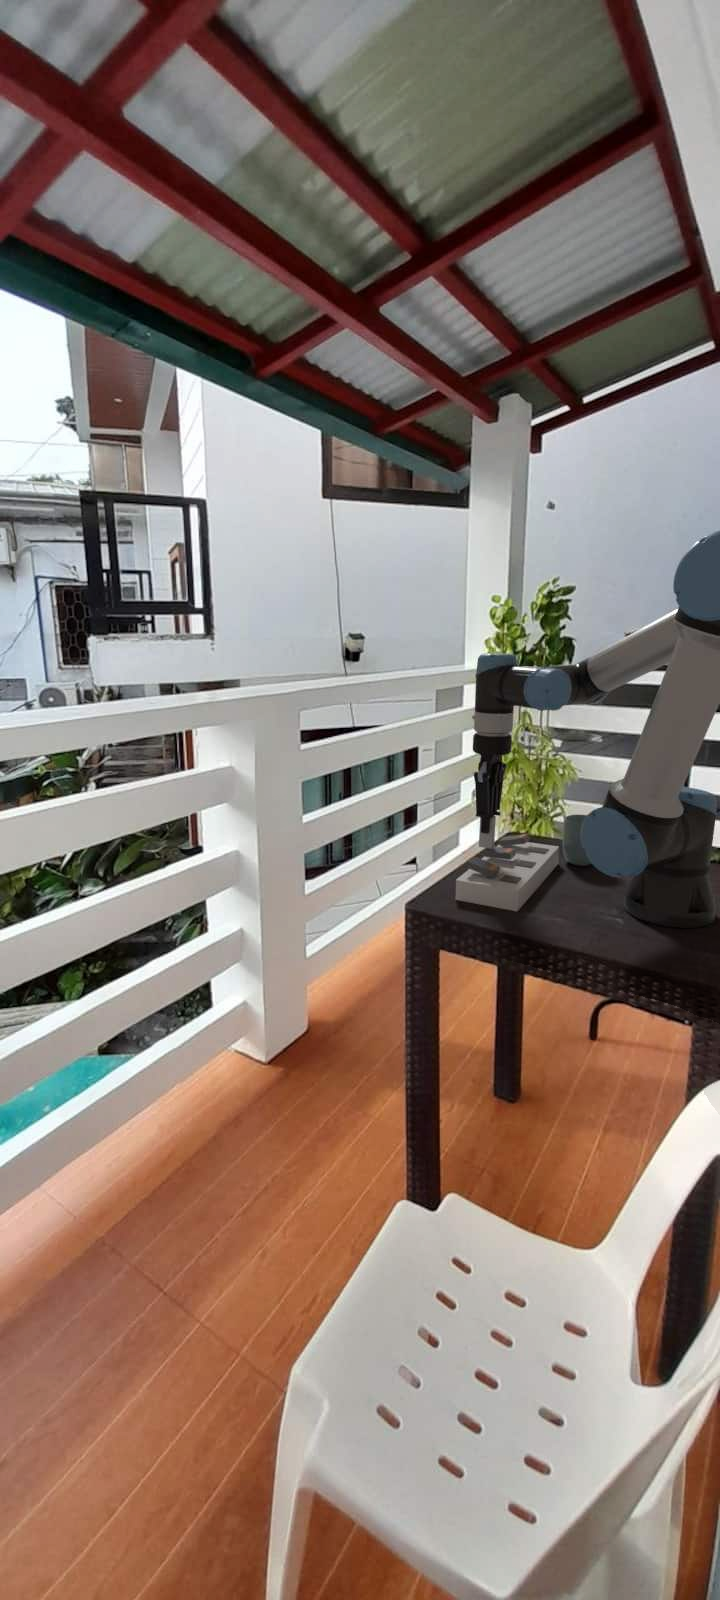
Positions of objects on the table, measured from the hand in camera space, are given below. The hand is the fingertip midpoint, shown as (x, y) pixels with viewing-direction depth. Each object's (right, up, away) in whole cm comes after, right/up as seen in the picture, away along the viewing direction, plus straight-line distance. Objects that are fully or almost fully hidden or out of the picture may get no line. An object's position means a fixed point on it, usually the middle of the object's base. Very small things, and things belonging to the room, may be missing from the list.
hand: (486, 846), depth 144 cm
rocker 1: (-2, -3, -10) cm, 11 cm away
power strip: (+7, -6, +2) cm, 9 cm away
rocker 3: (+7, +1, +7) cm, 10 cm away
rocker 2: (+2, -1, -1) cm, 3 cm away
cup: (+22, -4, +9) cm, 24 cm away
